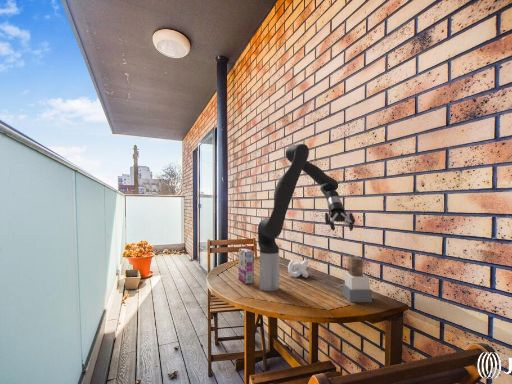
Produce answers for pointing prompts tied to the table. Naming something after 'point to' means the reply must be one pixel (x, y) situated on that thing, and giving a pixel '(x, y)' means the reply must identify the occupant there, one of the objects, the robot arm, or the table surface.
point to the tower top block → (357, 282)
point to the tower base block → (357, 294)
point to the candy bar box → (246, 266)
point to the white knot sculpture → (298, 268)
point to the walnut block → (355, 266)
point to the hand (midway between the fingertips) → (342, 229)
